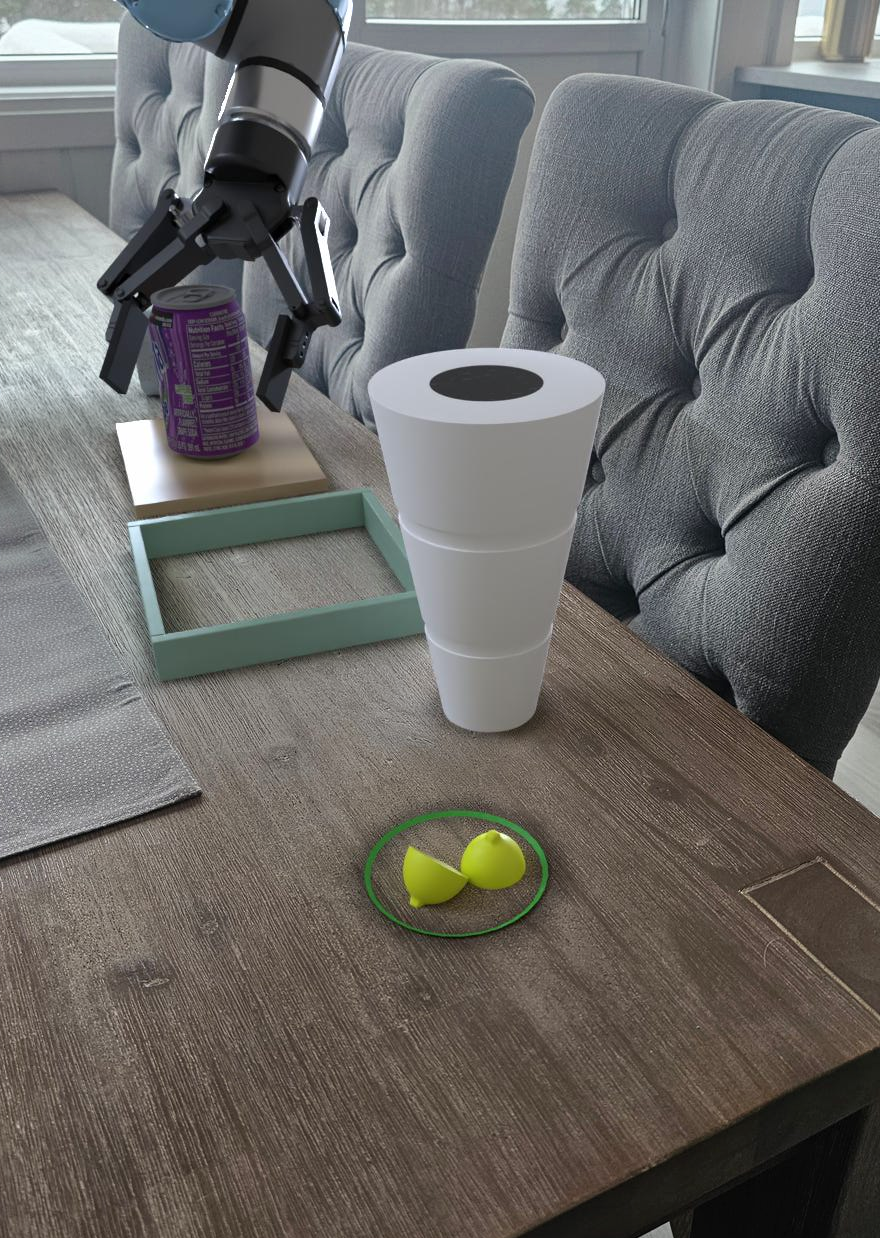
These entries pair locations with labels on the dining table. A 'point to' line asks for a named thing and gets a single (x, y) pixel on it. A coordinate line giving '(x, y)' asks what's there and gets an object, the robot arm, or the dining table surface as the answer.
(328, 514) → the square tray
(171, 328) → the beverage can
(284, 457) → the birch board
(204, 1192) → the dining table surface
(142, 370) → the ceramic mug
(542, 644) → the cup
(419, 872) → the green round dish
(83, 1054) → the dining table surface
